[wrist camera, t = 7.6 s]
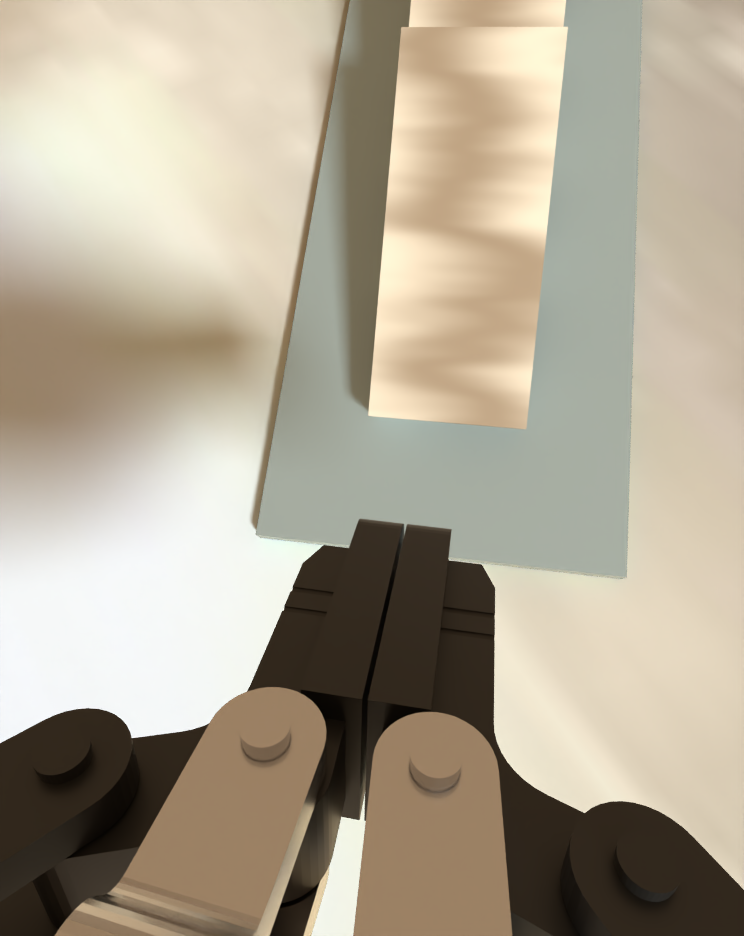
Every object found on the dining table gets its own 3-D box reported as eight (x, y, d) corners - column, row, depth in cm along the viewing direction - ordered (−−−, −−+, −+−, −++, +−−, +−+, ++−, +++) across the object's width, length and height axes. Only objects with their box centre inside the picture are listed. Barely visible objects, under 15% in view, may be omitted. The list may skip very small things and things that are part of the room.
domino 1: (531, 293, 23) (568, -64, 22) (536, 283, 21) (576, -103, 20) (392, 285, 23) (422, -61, 22) (387, 274, 22) (419, -98, 21)
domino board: (639, -39, 27) (643, -55, 26) (621, 579, 20) (626, 577, 20) (360, -35, 28) (358, -49, 28) (260, 537, 22) (255, 534, 21)
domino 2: (521, 429, 21) (560, 57, 20) (526, 429, 20) (568, 26, 19) (375, 416, 22) (406, 57, 21) (367, 415, 20) (401, 27, 20)
